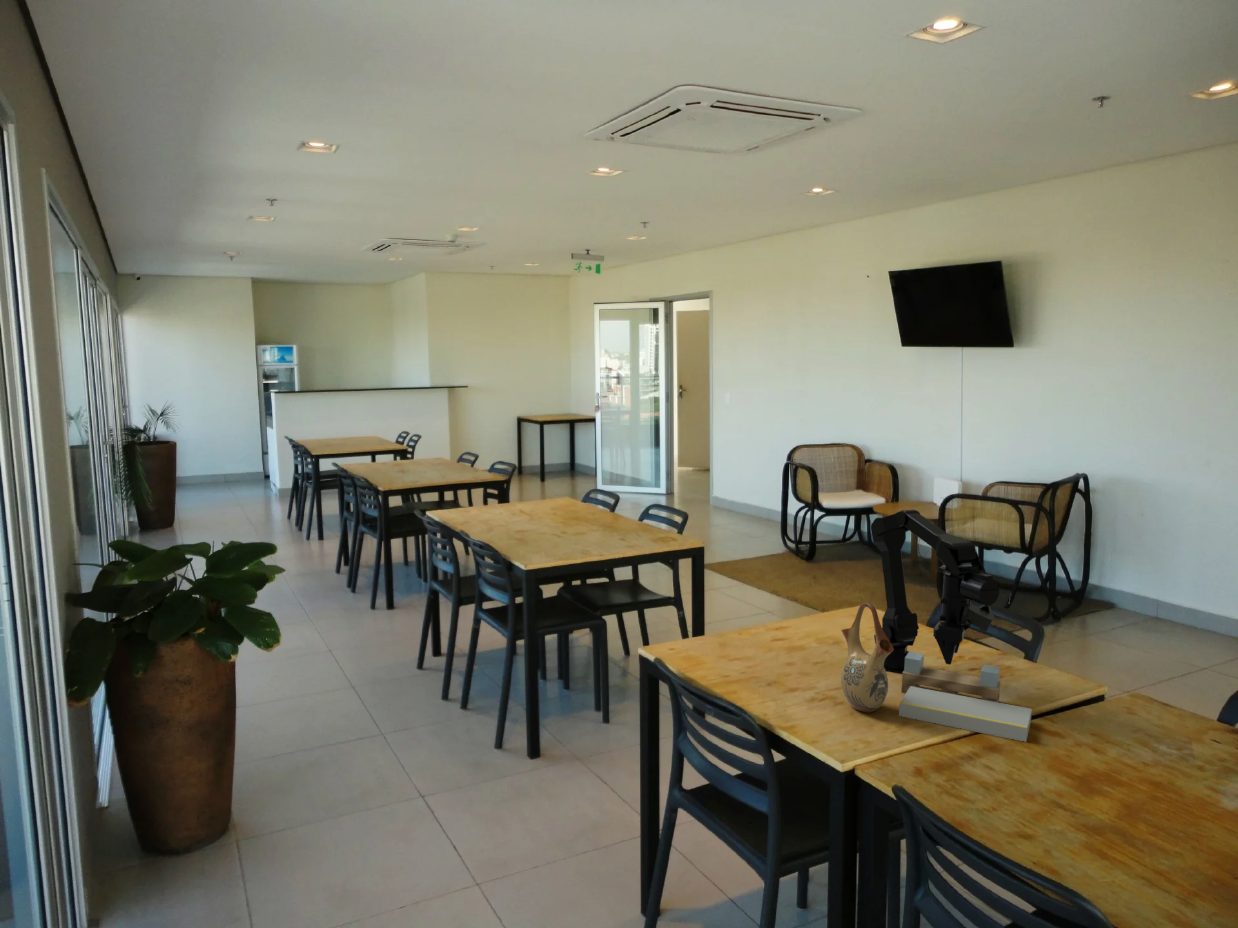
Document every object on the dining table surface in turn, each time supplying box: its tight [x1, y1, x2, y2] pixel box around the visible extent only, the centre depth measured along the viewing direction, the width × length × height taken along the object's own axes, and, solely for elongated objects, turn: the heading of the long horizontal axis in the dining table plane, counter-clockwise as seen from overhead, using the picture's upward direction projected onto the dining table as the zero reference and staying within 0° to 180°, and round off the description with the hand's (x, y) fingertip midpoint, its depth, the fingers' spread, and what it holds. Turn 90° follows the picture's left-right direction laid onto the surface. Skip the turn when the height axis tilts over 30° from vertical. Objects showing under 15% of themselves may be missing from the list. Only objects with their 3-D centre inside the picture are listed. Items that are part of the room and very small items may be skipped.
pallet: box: [901, 666, 1001, 702], centre depth 207 cm, size 21×6×5 cm, turn 61°
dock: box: [898, 686, 1033, 743], centre depth 194 cm, size 26×12×3 cm, turn 61°
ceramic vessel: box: [840, 601, 894, 713], centre depth 198 cm, size 16×9×25 cm, turn 22°
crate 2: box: [979, 664, 1001, 688], centre depth 202 cm, size 4×5×4 cm
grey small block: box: [904, 651, 925, 674], centre depth 211 cm, size 4×5×4 cm
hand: (951, 658), depth 206 cm, fingers open, 9 cm apart
